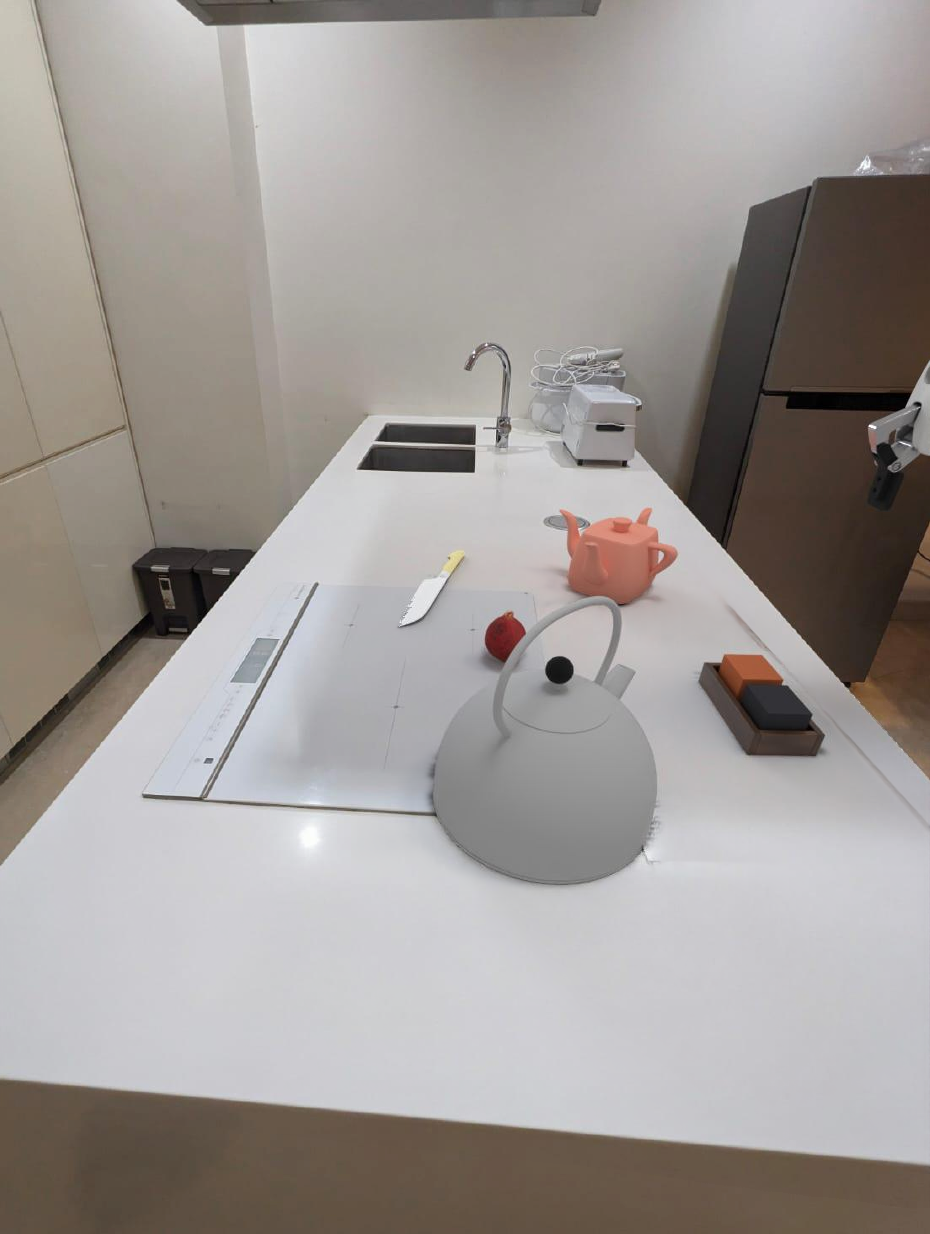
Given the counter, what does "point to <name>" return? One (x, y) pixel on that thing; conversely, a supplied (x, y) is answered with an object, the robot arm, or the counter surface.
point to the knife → (430, 590)
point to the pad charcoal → (775, 708)
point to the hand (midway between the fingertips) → (922, 507)
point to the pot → (615, 557)
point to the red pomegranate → (503, 636)
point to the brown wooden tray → (746, 729)
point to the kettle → (549, 769)
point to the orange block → (747, 673)
